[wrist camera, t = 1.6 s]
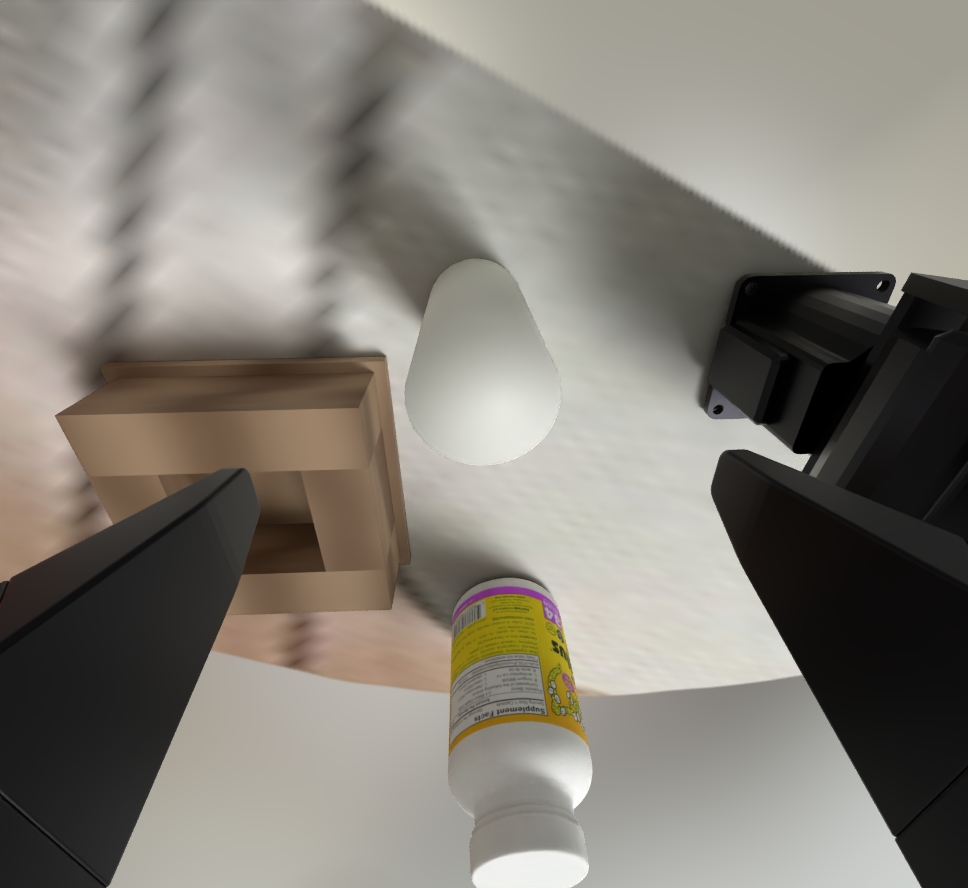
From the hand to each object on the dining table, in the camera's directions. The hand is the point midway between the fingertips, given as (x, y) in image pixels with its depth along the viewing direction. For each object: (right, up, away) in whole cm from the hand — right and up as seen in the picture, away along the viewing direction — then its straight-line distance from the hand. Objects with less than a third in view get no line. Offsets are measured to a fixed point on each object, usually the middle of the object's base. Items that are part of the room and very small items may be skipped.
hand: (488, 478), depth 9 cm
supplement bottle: (+1, -10, +20) cm, 23 cm away
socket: (-10, -1, +14) cm, 18 cm away
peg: (0, +6, +11) cm, 13 cm away
